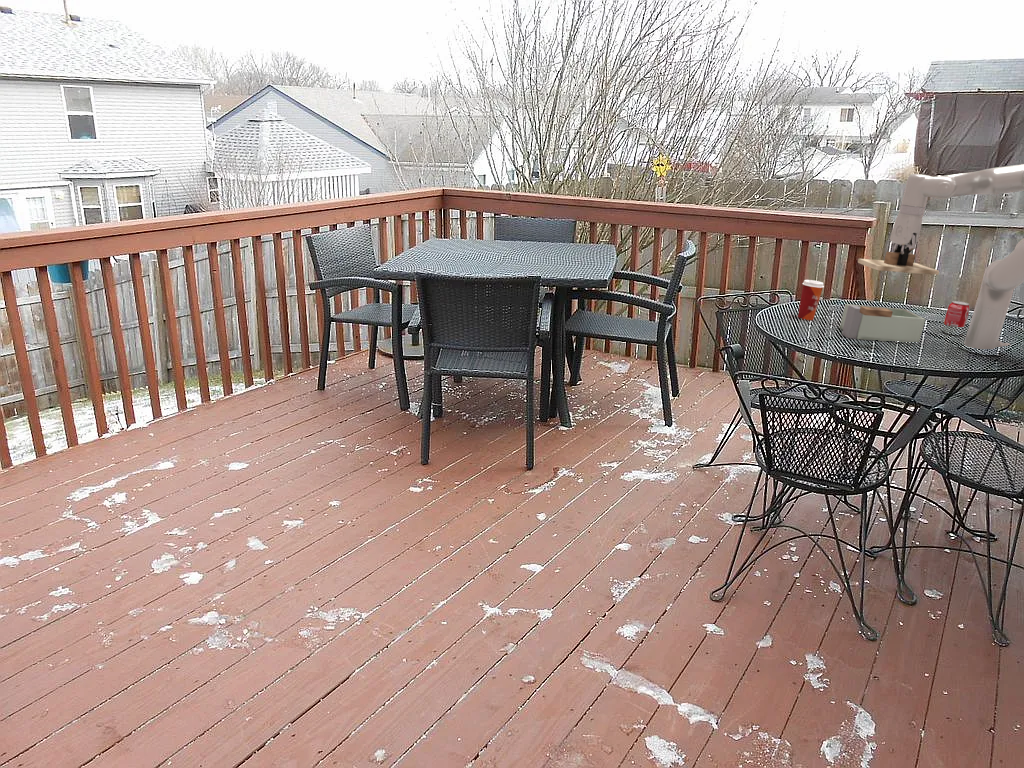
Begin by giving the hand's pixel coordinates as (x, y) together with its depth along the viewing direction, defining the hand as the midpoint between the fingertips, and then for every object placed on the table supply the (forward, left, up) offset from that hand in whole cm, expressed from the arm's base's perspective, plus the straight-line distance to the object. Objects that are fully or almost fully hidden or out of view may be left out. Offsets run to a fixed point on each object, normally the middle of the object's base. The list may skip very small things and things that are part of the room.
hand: (898, 263), depth 270 cm
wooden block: (+15, +20, -14) cm, 29 cm away
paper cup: (+23, -13, -25) cm, 36 cm away
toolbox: (+5, +6, -25) cm, 26 cm away
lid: (0, 0, -2) cm, 2 cm away
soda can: (-31, -7, -25) cm, 41 cm away
